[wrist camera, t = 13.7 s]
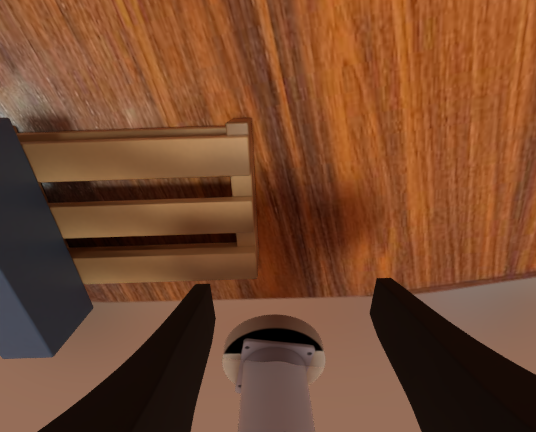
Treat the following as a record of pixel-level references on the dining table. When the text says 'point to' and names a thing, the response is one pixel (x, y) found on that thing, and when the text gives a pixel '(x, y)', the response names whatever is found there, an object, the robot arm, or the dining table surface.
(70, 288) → the slate blue rectangular box
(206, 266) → the rack
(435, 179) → the dining table surface
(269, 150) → the dining table surface
